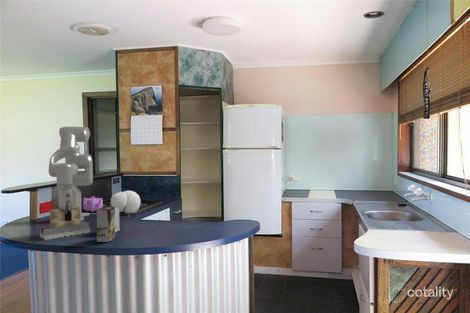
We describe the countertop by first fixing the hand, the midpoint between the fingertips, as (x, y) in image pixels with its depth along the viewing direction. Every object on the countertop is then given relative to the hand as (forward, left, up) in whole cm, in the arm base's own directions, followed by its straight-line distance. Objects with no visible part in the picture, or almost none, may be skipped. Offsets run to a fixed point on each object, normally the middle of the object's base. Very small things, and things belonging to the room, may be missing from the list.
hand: (65, 219), depth 178 cm
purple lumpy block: (-36, -60, -8) cm, 70 cm away
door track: (0, 0, -8) cm, 8 cm away
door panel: (0, 0, -6) cm, 6 cm away
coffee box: (-11, +27, -8) cm, 30 cm away
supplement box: (-19, +12, -8) cm, 24 cm away
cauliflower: (-49, -31, -8) cm, 58 cm away
